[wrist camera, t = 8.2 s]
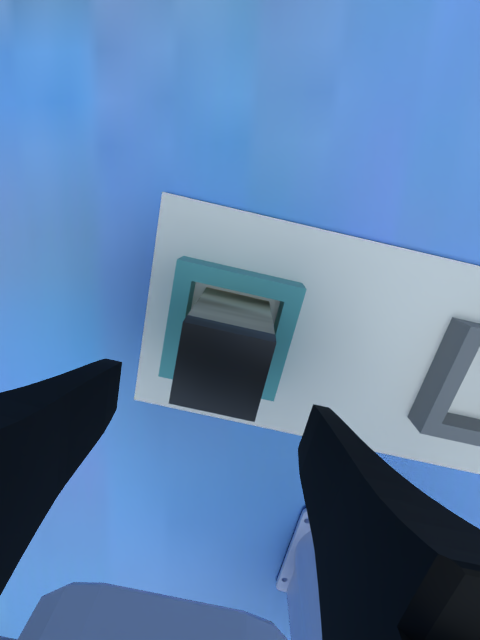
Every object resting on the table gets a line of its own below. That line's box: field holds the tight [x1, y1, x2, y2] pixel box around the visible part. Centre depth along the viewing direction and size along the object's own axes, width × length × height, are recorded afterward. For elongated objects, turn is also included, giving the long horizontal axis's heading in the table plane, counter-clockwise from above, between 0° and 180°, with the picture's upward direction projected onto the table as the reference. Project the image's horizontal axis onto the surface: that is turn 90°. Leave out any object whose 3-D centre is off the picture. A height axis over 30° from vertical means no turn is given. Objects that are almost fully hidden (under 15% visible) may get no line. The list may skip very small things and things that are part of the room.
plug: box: [169, 287, 277, 422], centre depth 17 cm, size 4×4×7 cm
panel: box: [134, 192, 480, 474], centre depth 20 cm, size 14×29×3 cm, turn 78°
